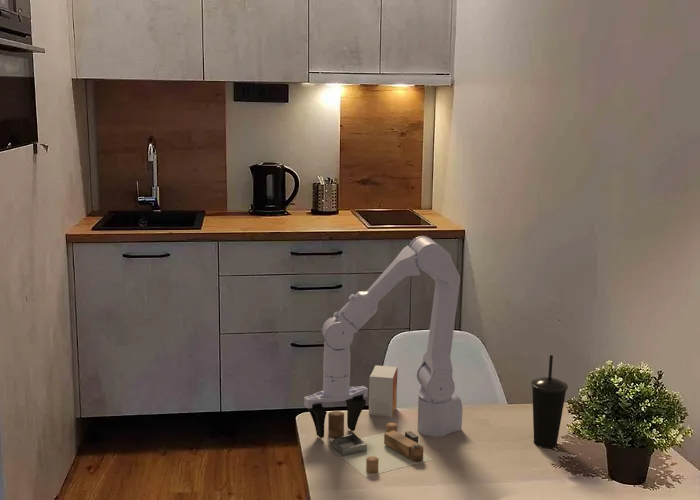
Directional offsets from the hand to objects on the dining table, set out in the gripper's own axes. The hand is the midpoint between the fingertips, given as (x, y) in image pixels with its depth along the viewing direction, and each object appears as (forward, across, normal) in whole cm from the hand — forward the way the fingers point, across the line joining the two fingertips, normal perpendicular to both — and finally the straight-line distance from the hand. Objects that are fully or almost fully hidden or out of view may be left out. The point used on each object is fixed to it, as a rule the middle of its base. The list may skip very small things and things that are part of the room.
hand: (335, 432), depth 173 cm
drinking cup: (+2, -40, +22) cm, 46 cm away
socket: (0, +1, +7) cm, 7 cm away
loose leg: (+2, 0, 0) cm, 2 cm away
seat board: (+2, -4, +12) cm, 13 cm away
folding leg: (0, -9, +14) cm, 17 cm away
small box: (+2, -17, -8) cm, 18 cm away
